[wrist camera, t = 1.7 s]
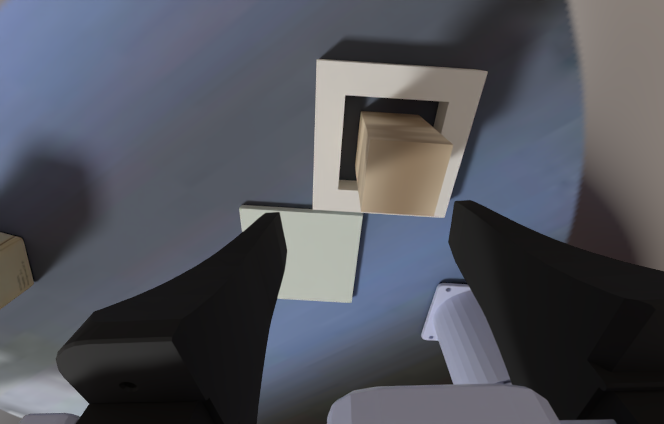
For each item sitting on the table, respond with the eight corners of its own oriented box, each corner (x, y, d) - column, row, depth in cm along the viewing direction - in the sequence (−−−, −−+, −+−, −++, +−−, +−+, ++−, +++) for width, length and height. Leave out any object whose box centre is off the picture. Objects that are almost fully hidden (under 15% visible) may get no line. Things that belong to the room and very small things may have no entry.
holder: (475, 69, 18) (488, 71, 17) (437, 206, 23) (444, 217, 22) (318, 58, 18) (316, 59, 17) (314, 198, 23) (312, 209, 22)
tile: (362, 212, 24) (362, 216, 23) (351, 298, 29) (351, 302, 28) (241, 204, 24) (239, 208, 23) (251, 292, 29) (249, 296, 28)
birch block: (418, 114, 20) (453, 144, 14) (407, 169, 22) (433, 216, 16) (360, 110, 20) (370, 139, 14) (354, 165, 22) (361, 211, 16)
